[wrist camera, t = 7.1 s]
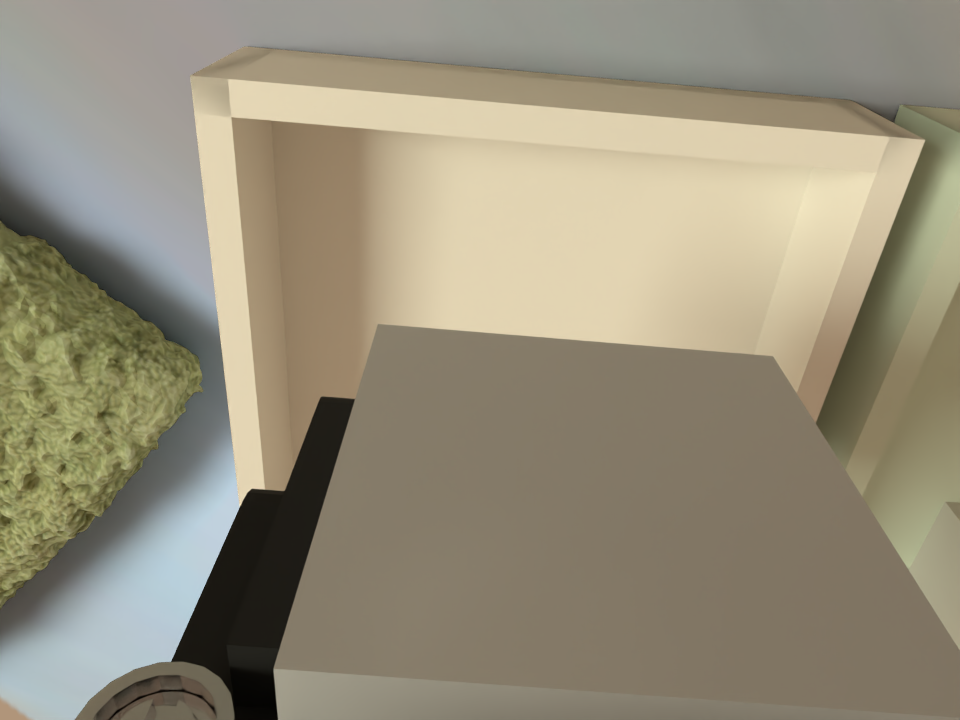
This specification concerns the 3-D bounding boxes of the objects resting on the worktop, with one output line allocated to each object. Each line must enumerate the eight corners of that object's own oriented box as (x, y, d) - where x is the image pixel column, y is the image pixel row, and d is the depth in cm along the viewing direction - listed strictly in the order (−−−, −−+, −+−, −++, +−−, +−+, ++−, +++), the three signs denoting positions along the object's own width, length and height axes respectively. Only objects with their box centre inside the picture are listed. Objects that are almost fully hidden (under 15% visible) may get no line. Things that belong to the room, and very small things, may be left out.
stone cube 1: (377, 323, 9) (274, 668, 5) (772, 356, 9) (1005, 720, 5) (374, 602, 12) (302, 990, 8) (686, 624, 12) (791, 1020, 8)
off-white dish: (244, 46, 14) (190, 75, 12) (850, 99, 15) (924, 139, 12) (287, 606, 23) (261, 695, 20) (676, 633, 23) (699, 724, 20)
